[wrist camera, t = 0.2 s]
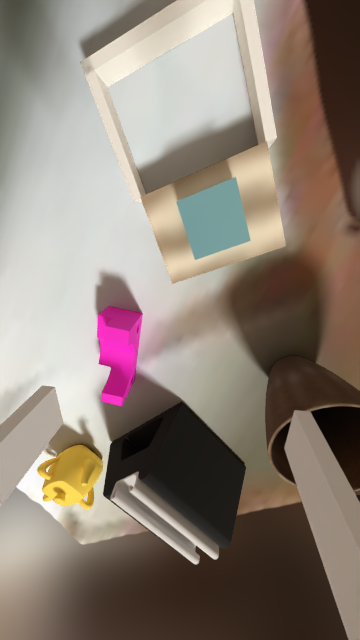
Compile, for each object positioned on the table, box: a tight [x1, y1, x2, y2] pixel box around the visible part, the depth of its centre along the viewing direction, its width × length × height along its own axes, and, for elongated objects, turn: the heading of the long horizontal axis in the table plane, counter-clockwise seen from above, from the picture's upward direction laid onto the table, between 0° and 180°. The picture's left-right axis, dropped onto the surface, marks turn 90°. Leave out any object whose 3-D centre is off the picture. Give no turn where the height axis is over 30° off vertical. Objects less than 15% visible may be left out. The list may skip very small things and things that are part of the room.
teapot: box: [37, 445, 103, 509], centre depth 53 cm, size 14×13×10 cm
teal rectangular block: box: [176, 177, 251, 260], centre depth 28 cm, size 7×7×3 cm
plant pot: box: [265, 356, 360, 491], centre depth 34 cm, size 15×15×16 cm
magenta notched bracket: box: [97, 306, 143, 406], centre depth 40 cm, size 15×6×8 cm, turn 170°
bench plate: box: [141, 141, 286, 284], centre depth 31 cm, size 12×16×4 cm
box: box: [80, 0, 277, 203], centre depth 27 cm, size 15×18×4 cm
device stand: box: [103, 402, 246, 564], centre depth 47 cm, size 22×22×15 cm
